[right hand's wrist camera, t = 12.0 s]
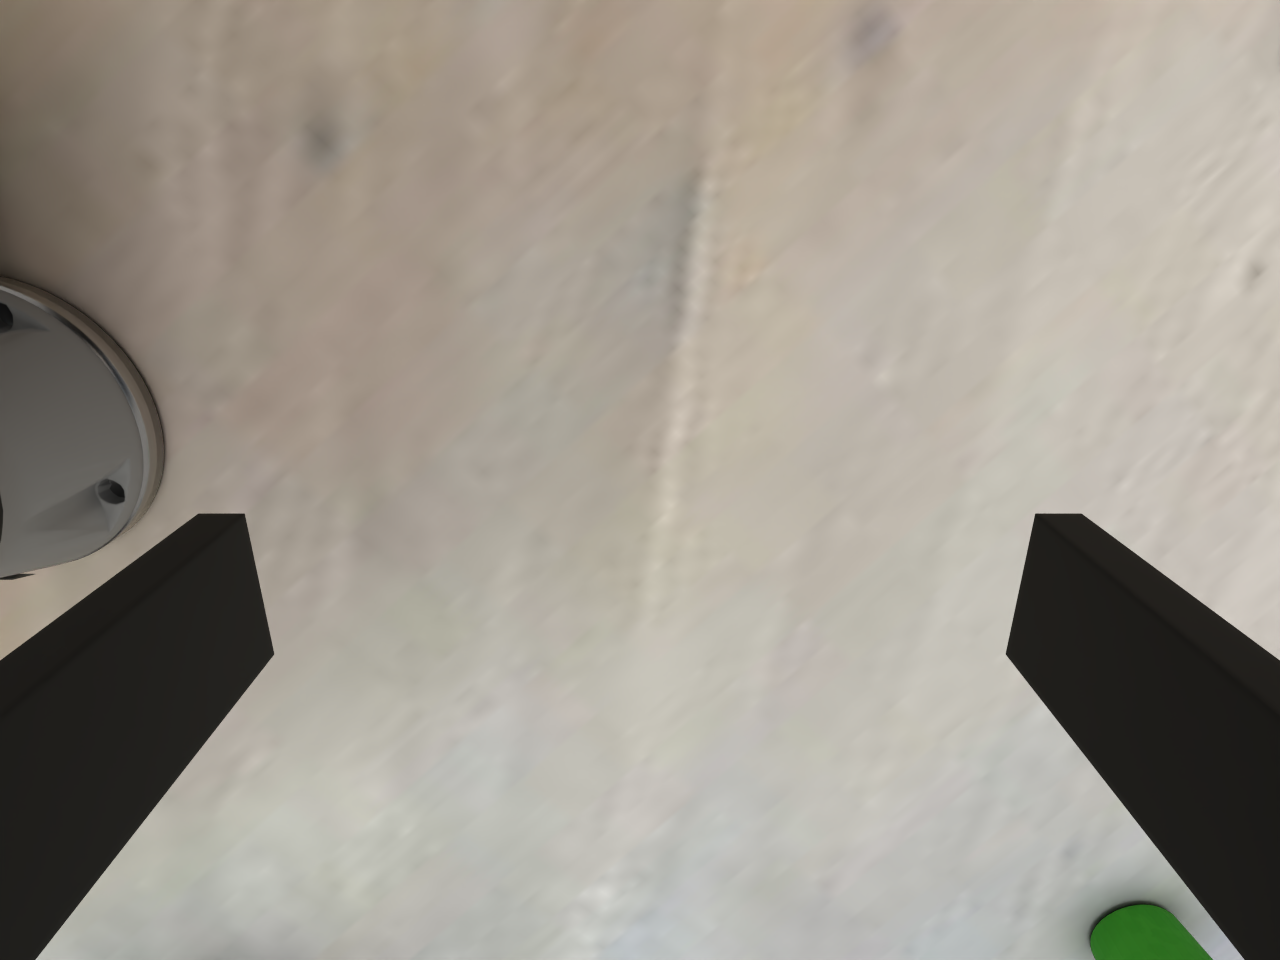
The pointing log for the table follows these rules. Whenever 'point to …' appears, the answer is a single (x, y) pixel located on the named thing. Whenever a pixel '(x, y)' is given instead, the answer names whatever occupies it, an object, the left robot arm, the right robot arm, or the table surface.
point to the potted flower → (1144, 936)
